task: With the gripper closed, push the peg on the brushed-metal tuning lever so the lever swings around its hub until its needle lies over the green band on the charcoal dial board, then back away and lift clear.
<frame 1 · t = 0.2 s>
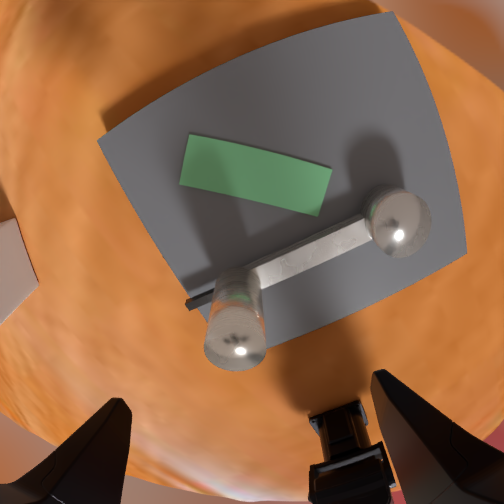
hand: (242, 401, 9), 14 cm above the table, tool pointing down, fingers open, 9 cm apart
dial board: (309, 188, 20), on the table
tuning lever: (309, 278, 16), point 6 cm above the table, hinge at 0.0°
milk carton: (8, 255, 22), on the table
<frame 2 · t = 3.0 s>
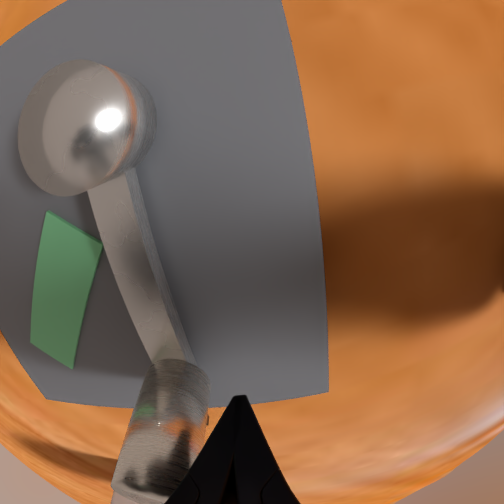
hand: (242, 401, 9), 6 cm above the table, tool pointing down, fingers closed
dial board: (97, 224, 13), on the table
tuning lever: (119, 341, 8), point 6 cm above the table, hinge at -0.2°, touching gripper
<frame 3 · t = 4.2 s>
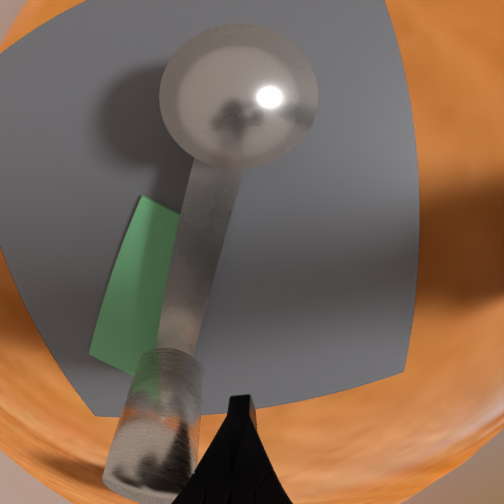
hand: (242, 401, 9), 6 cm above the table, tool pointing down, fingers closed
dial board: (188, 214, 13), on the table
tuning lever: (176, 328, 8), point 6 cm above the table, hinge at -27.2°, touching gripper
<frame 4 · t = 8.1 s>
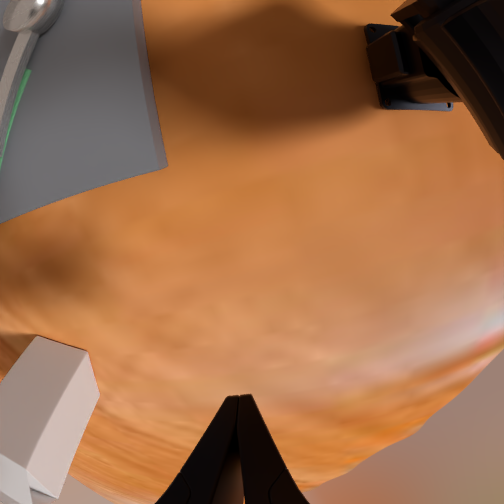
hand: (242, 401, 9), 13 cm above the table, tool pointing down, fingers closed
dial board: (34, 75, 15), on the table
milk carton: (69, 364, 26), on the table
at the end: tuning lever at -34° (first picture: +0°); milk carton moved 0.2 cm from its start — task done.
